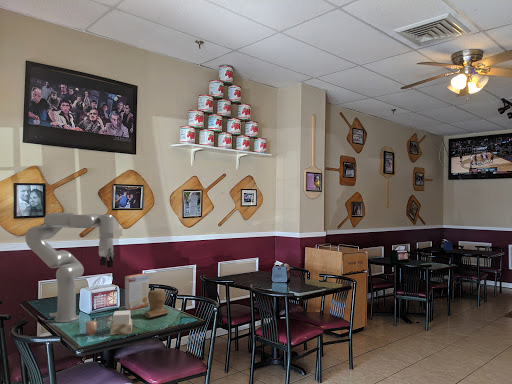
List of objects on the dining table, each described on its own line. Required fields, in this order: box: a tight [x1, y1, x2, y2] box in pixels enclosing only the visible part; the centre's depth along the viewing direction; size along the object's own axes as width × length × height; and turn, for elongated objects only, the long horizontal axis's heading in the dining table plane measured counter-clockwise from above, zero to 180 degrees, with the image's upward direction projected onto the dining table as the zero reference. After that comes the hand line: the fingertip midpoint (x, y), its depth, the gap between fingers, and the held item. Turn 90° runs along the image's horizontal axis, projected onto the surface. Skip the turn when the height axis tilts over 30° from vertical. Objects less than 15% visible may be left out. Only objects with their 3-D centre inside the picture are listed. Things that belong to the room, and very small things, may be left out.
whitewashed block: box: [112, 309, 131, 325], centre depth 216 cm, size 8×8×5 cm
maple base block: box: [109, 318, 133, 336], centre depth 216 cm, size 10×10×5 cm
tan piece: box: [143, 289, 170, 319], centre depth 245 cm, size 15×12×15 cm
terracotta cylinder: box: [85, 320, 97, 336], centre depth 212 cm, size 5×5×6 cm
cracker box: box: [124, 273, 150, 311], centre depth 262 cm, size 14×6×21 cm, turn 136°
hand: (106, 266), depth 233 cm, fingers open, 9 cm apart
